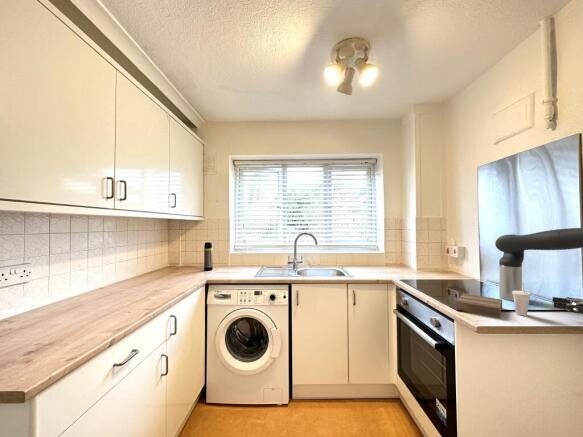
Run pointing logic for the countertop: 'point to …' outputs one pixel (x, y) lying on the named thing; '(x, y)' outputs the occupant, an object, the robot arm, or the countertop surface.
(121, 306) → the countertop surface
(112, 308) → the countertop surface
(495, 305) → the plinth
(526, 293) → the smoothie
